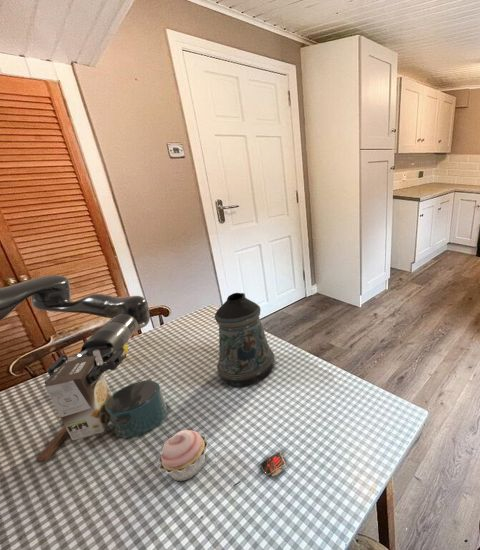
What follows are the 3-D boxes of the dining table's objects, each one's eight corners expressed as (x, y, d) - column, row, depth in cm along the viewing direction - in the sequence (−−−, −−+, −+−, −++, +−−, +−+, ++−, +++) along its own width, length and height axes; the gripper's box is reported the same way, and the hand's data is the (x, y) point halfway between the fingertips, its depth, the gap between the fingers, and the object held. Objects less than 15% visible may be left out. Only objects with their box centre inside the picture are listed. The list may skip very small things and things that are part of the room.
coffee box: (105, 431, 72) (80, 378, 66) (71, 441, 70) (42, 387, 64) (117, 404, 80) (96, 354, 74) (87, 412, 78) (62, 361, 71)
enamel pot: (102, 447, 70) (90, 422, 67) (130, 403, 82) (121, 380, 80) (155, 437, 72) (146, 413, 69) (175, 395, 85) (168, 373, 82)
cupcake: (159, 497, 60) (145, 462, 56) (167, 457, 68) (155, 424, 64) (211, 478, 63) (201, 444, 59) (213, 442, 71) (204, 410, 67)
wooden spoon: (30, 463, 67) (27, 459, 66) (74, 410, 80) (72, 406, 80) (56, 458, 68) (54, 454, 67) (95, 406, 81) (94, 403, 81)
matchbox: (258, 466, 65) (258, 465, 65) (278, 449, 69) (278, 448, 69) (271, 480, 63) (271, 478, 62) (291, 461, 66) (291, 460, 66)
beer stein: (230, 397, 84) (212, 319, 75) (209, 363, 98) (192, 293, 88) (284, 370, 94) (274, 298, 85) (259, 343, 108) (248, 279, 98)
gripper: (141, 348, 85) (111, 390, 71) (82, 356, 82) (37, 402, 67) (133, 326, 82) (100, 365, 68) (71, 333, 79) (22, 375, 65)
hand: (68, 383), depth 68 cm, fingers closed on coffee box, 7 cm apart
